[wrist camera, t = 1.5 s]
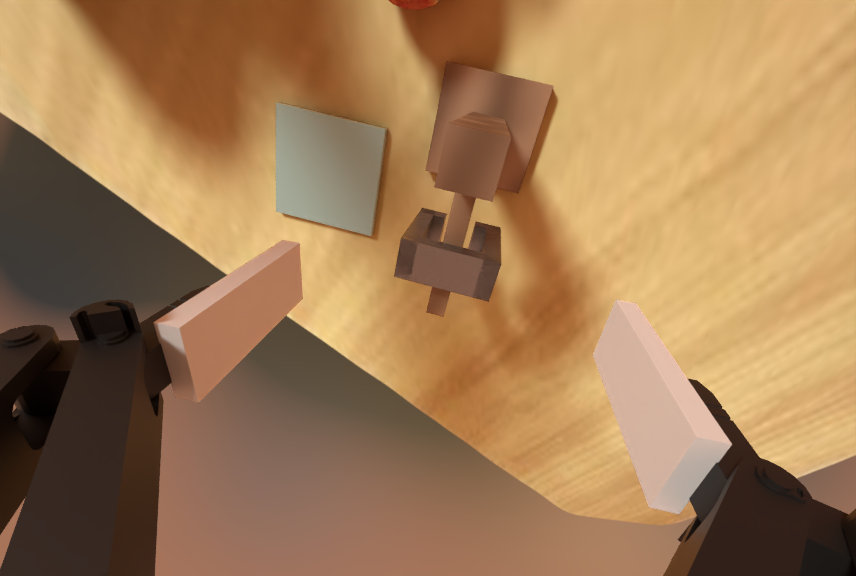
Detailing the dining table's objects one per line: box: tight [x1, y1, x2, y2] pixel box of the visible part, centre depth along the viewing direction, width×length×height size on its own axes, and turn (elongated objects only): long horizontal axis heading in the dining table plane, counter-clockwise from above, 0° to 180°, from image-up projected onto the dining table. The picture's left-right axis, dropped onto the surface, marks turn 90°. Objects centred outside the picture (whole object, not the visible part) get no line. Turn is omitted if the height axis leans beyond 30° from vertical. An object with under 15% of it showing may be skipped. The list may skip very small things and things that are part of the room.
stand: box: [426, 61, 553, 317], centre depth 29 cm, size 10×18×22 cm, turn 168°
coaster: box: [276, 102, 387, 236], centre depth 41 cm, size 12×12×1 cm
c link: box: [394, 208, 501, 302], centre depth 29 cm, size 7×3×8 cm, turn 78°
